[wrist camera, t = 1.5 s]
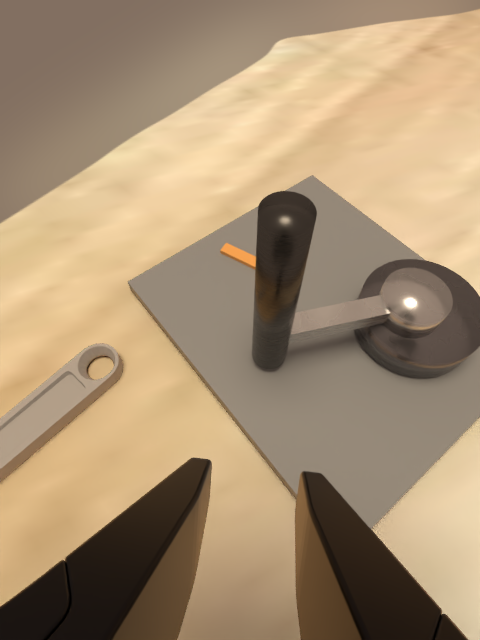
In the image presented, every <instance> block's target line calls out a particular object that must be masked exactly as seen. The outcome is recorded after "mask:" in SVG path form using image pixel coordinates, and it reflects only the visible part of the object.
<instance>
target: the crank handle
mask: <svg viewBox="0 0 480 640" xmlns="http://www.w3.org/2000/svg"><path fill="white" fill-rule="evenodd" d="M316 217H317V210H316V207H315V205H314V203H313V202H312V201H311V200H310V199H309V198H307V197H306V196H304V195H302V194H300V193H296V192H291V191H280V192H276V193H272V194H270V195H268V196H267V197H265V198H264V199H263V200H262V201H261V203H260V204H259V207H258V220H257V243H256V266H255V289H254V312H253V335H252V358H253V360H254V362H255V363H256V364H257V365H258V366H260V367H262V368H265V369H274V368H277V367H279V366H280V365H282V364H283V362H284V361H285V358H286V354H287V350H288V345H289V343H294V342H298V341H303V340H307V339H312V338H317V337H321V336H326V335H331V334H335V333H340V332H344V331H349V330H354V331H355V333H356V336H357V338H358V340H359V342H360V343H361V345H362V346H363V348H364V349H365V350H366V352H367V353H368V354H369V355H370V356H371V357H372V358H374V359H375V360H376V361H377V362H378V363H380V364H381V365H383V366H384V367H386V368H388V369H390V370H392V371H394V372H397V373H399V374H403V375H406V376H411V377H418V378H429V377H436V376H440V375H443V374H446V373H448V372H450V371H452V370H453V369H455V368H456V367H457V366H458V365H460V364H461V363H462V362H463V361H464V360H465V359H466V358H468V357H469V356H470V355H471V354H472V353H473V352H475V351H476V350H477V349H478V347H479V346H480V297H479V295H478V293H477V292H476V291H475V290H474V288H473V287H472V286H471V285H470V284H469V283H468V282H467V281H466V280H465V279H463V278H462V277H461V276H459V275H458V274H456V273H455V272H453V271H452V270H450V269H448V268H446V267H444V266H441V265H439V264H436V263H433V262H429V261H425V260H418V259H401V260H396V261H392V262H389V263H386V264H384V265H382V266H380V267H378V268H377V269H376V270H374V271H373V272H372V273H371V274H370V275H369V276H368V278H367V279H366V281H365V283H364V285H363V287H362V289H361V292H360V294H359V296H358V298H357V300H354V301H349V302H344V303H340V304H335V305H330V306H325V307H320V308H315V309H311V310H306V311H301V312H296V308H297V304H298V299H299V295H300V290H301V286H302V281H303V276H304V272H305V267H306V263H307V258H308V254H309V249H310V245H311V240H312V235H313V231H314V226H315V222H316Z"/></svg>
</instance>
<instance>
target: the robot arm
mask: <svg viewBox="0 0 480 640" xmlns="http://www.w3.org/2000/svg"><path fill="white" fill-rule="evenodd" d="M211 470H212V463H211V461H210V460H209V459H201V458H191V459H189V460H188V461H187V462H186V463H184V464H183V465H182V466H181V467H179V468H178V469H177V470H176V471H174V472H173V473H172V474H170V475H169V476H168V477H167V478H165V479H164V480H163V481H162V482H160V483H159V484H158V485H157V486H155V487H154V488H153V489H151V490H150V491H149V492H148V493H146V494H145V495H144V496H143V497H141V498H140V499H139V500H138V501H136V502H135V503H134V504H132V505H131V506H130V507H129V508H127V509H126V510H125V511H124V512H122V513H121V514H120V515H119V516H117V517H116V518H115V519H113V520H112V521H111V522H110V523H108V524H107V525H106V526H105V527H103V528H102V529H101V530H100V531H98V532H97V533H96V534H94V535H93V536H92V537H91V538H89V539H88V540H87V541H86V542H84V543H83V544H82V545H81V546H79V547H78V548H77V549H75V550H74V551H73V552H72V553H70V554H69V555H68V556H67V557H66V558H65V561H64V560H62V561H60V562H59V563H57V564H56V565H55V566H54V567H52V568H51V569H50V570H49V571H47V572H46V573H45V574H44V575H42V576H41V577H40V578H38V579H37V580H36V581H34V582H33V583H32V584H30V585H29V586H28V587H26V588H25V589H24V590H22V591H21V592H20V593H18V594H17V595H16V596H14V597H13V598H12V599H10V600H9V601H8V602H6V603H5V604H3V605H2V606H0V640H177V638H178V635H179V632H180V628H181V625H182V622H183V618H184V615H185V612H186V609H187V605H188V602H189V599H190V595H191V592H192V588H193V584H194V580H195V576H196V571H197V566H198V560H199V555H200V549H201V544H202V538H203V533H204V528H205V522H206V517H207V511H208V506H209V498H210V485H211ZM295 553H296V599H297V609H298V618H299V627H300V635H301V640H468V639H467V638H466V636H465V635H464V634H463V633H462V632H461V631H460V630H459V628H458V627H457V626H456V625H455V624H454V623H453V622H452V621H451V619H450V618H449V617H448V616H447V615H446V614H442V610H441V608H440V607H439V606H438V605H437V604H436V603H435V601H434V600H433V599H432V598H431V597H430V596H429V595H428V593H427V592H426V591H425V590H424V589H423V588H422V587H421V586H420V584H419V583H418V582H417V581H416V580H415V579H414V578H413V576H412V575H411V574H410V573H409V572H408V571H407V570H406V568H405V567H404V566H403V565H402V564H401V563H400V562H399V561H398V559H397V558H396V557H395V556H394V555H393V554H392V553H391V551H390V550H389V549H388V548H387V547H386V546H385V545H384V543H383V542H382V541H381V540H380V539H379V538H378V537H377V536H376V534H375V533H374V532H373V531H372V530H371V529H370V528H369V526H368V525H367V524H366V523H365V522H364V521H363V520H362V518H361V517H360V516H359V515H358V514H357V513H356V512H355V510H354V509H353V508H352V507H351V506H350V505H349V504H348V503H347V501H346V500H345V499H344V498H343V497H342V496H341V495H340V493H339V492H338V491H337V490H336V489H335V488H334V487H333V485H332V484H331V483H330V482H329V481H328V480H327V479H326V478H325V476H324V475H323V474H321V473H318V472H309V471H303V472H301V474H300V479H299V486H298V494H297V501H296V510H295Z"/></svg>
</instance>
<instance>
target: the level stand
mask: <svg viewBox="0 0 480 640" xmlns="http://www.w3.org/2000/svg"><path fill="white" fill-rule="evenodd" d="M286 191H291V192H296V193H300V194H302V195H304V196H306V197H307V198H309V199H310V200H311V201H312V202H313V203H314V205H315V207H316V210H317V217H316V222H315V226H314V231H313V235H312V240H311V245H310V249H309V254H308V258H307V263H306V267H305V272H304V276H303V281H302V286H301V290H300V295H299V299H298V304H297V308H296V312H301V311H306V310H311V309H315V308H320V307H325V306H330V305H335V304H340V303H344V302H349V301H354V300H357V298H358V296H359V294H360V292H361V289H362V287H363V285H364V283H365V281H366V279H367V278H368V276H369V275H370V274H371V273H372V272H373V271H374V270H376V269H377V268H378V267H380V266H382V265H384V264H386V263H389V262H392V261H396V260H401V259H418V260H424V259H423V258H422V257H420V256H419V255H418V254H416V253H415V252H414V251H412V250H411V249H410V248H408V247H407V246H406V245H404V244H403V243H402V242H400V241H399V240H398V239H396V238H395V237H394V236H392V235H391V234H390V233H388V232H387V231H386V230H384V229H383V228H382V227H380V226H379V225H378V224H376V223H375V222H374V221H372V220H371V219H370V218H368V217H367V216H366V215H364V214H363V213H362V212H361V211H359V210H358V209H357V208H355V207H354V206H353V205H351V204H350V203H349V202H347V201H346V200H345V199H343V198H342V197H341V196H339V195H338V194H337V193H335V192H334V191H333V190H331V189H330V188H329V187H327V186H326V185H325V184H323V183H322V182H321V181H319V180H318V179H317V178H315V177H314V176H313V175H312V176H310V177H308V178H307V179H305V180H303V181H301V182H300V183H298V184H296V185H294V186H293V187H291V188H289V189H287V190H286ZM258 207H259V206H258ZM258 207H256V208H255V209H253V210H251V211H249V212H248V213H246V214H244V215H242V216H241V217H239V218H237V219H235V220H234V221H232V222H230V223H229V224H227V225H225V226H223V227H222V228H220V229H218V230H216V231H215V232H213V233H211V234H209V235H208V236H206V237H204V238H203V239H201V240H199V241H197V242H196V243H194V244H192V245H190V246H189V247H187V248H185V249H183V250H182V251H180V252H178V253H177V254H175V255H173V256H171V257H170V258H168V259H166V260H164V261H163V262H161V263H159V264H157V265H156V266H154V267H152V268H151V269H149V270H147V271H145V272H144V273H142V274H140V275H138V276H137V277H135V278H133V279H132V280H130V281H128V284H129V286H130V289H131V291H132V292H133V293H134V294H135V296H136V297H137V298H138V300H139V301H140V302H141V303H142V305H143V306H144V307H145V308H146V310H147V311H148V312H149V313H150V315H151V316H152V317H153V319H154V320H155V321H156V322H157V324H158V325H159V326H160V327H161V329H162V330H163V331H164V332H165V334H166V335H167V336H168V338H169V339H170V340H171V341H172V343H173V344H174V345H175V346H176V348H177V349H178V350H179V351H180V353H181V354H182V355H183V357H184V358H185V359H186V360H187V362H188V363H189V364H190V365H191V367H192V368H193V369H194V370H195V372H196V373H197V374H198V376H199V377H200V378H201V379H202V381H203V382H204V383H205V384H206V386H207V387H208V388H209V389H210V391H211V392H212V393H213V395H214V396H215V397H216V398H217V400H218V401H219V402H220V403H221V405H222V406H223V407H224V408H225V410H226V411H227V412H228V414H229V415H230V416H231V417H232V419H233V420H234V421H235V422H236V424H237V425H238V426H239V427H240V429H241V430H242V431H243V433H244V434H245V435H246V436H247V438H248V439H249V440H250V441H251V443H252V444H253V445H254V446H255V448H256V449H257V450H258V452H259V453H260V454H261V455H262V457H263V458H264V459H265V460H266V462H267V463H268V464H269V465H270V467H271V468H272V469H273V471H274V472H275V473H276V474H277V476H278V477H279V478H280V479H281V481H282V482H283V483H284V484H285V486H286V487H287V488H288V490H289V491H290V492H291V493H292V495H293V496H294V497H295V498H296V500H297V494H298V486H299V479H300V474H301V472H303V471H309V472H318V473H321V474H323V475H324V476H325V478H326V479H327V480H328V481H329V482H330V483H331V484H332V485H333V487H334V488H335V489H336V490H337V491H338V492H339V493H340V495H341V496H342V497H343V498H344V499H345V500H346V501H347V503H348V504H349V505H350V506H351V507H352V508H353V509H354V510H355V512H356V513H357V514H358V515H359V516H360V517H361V518H362V520H363V521H364V522H365V523H366V524H367V525H368V526H369V528H370V529H371V528H372V527H373V526H374V525H375V524H376V523H377V522H378V521H379V520H380V519H381V518H382V517H383V516H384V515H385V514H386V513H387V512H388V511H389V510H390V509H391V508H392V507H393V506H394V505H395V504H396V503H397V502H398V501H399V499H400V498H401V497H402V496H403V495H404V494H405V493H406V492H407V491H408V490H409V489H410V488H411V487H412V486H413V485H414V484H415V483H416V482H417V481H418V480H419V479H420V478H421V477H422V476H423V475H424V474H425V473H426V472H427V471H428V470H429V469H430V468H431V466H432V465H433V464H434V463H435V462H436V461H437V460H438V459H439V458H440V457H441V456H442V455H443V454H444V453H445V452H446V451H447V450H448V449H449V448H450V447H451V446H452V445H453V444H454V443H455V442H456V441H457V440H458V439H459V438H460V437H461V436H462V434H463V433H464V432H465V431H466V430H467V429H468V428H469V427H470V426H471V425H472V424H473V423H474V422H475V421H476V420H477V419H478V418H479V417H480V346H479V347H478V349H477V350H476V351H475V352H473V353H472V354H471V355H470V356H469V357H468V358H466V359H465V360H464V361H463V362H462V363H461V364H460V365H458V366H457V367H456V368H455V369H453V370H452V371H450V372H448V373H446V374H443V375H440V376H436V377H429V378H418V377H411V376H406V375H403V374H399V373H397V372H394V371H392V370H390V369H388V368H386V367H384V366H383V365H381V364H380V363H378V362H377V361H376V360H375V359H374V358H372V357H371V356H370V355H369V354H368V353H367V352H366V350H365V349H364V348H363V346H362V345H361V343H360V342H359V340H358V338H357V336H356V333H355V331H354V330H349V331H344V332H340V333H335V334H331V335H326V336H321V337H317V338H312V339H307V340H303V341H298V342H294V343H289V345H288V350H287V354H286V358H285V361H284V362H283V364H282V365H280V366H279V367H277V368H274V369H265V368H262V367H260V366H258V365H257V364H256V363H255V362H254V360H253V358H252V335H253V312H254V289H255V266H256V243H257V220H258ZM425 261H426V260H425Z"/></svg>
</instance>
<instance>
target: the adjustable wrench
mask: <svg viewBox="0 0 480 640" xmlns="http://www.w3.org/2000/svg"><path fill="white" fill-rule="evenodd" d="M100 356H108V357H110V358H111V359H112V360H113V363H114V367H113V369H112V371H111V372H110V373H109V374H108V375H106V376H105V377H103V378H101V379H98V380H93V379H91V378H90V377H89V376H88V375H87V371H86V370H87V367H88V365H89V363H90V362H91V361H92V360H94V359H95V358H97V357H100ZM122 372H123V363H122V360H121V358H120V356H119V355H118V353H117V352H116V350H115V349H114V348H113V347H111V346H110V345H107V344H103V343H101V344H94V345H91V346H88V347H87V348H85V349H84V350H82V351H81V352H80V353H79V354H78V355H76V356H75V357H74V358H73V359H71V360H70V361H69V362H68V363H67V364H65V365H64V366H63V367H62V368H61V369H59V370H58V371H57V372H56V373H55V374H53V375H52V376H51V377H50V378H49V379H47V380H46V381H45V382H44V383H43V384H41V385H40V386H39V387H38V388H36V389H35V390H34V391H33V392H32V393H30V394H29V395H28V396H27V397H26V398H24V399H23V400H22V401H21V402H20V403H18V404H17V405H16V406H15V407H14V408H12V409H11V410H10V411H9V412H8V413H6V414H5V415H4V416H3V417H2V418H0V482H1V481H2V480H4V479H5V478H6V477H7V476H8V475H9V474H11V473H12V472H13V471H14V470H15V469H16V468H18V467H19V466H20V465H21V464H22V463H23V462H24V461H26V460H27V459H28V458H29V457H30V456H31V455H33V454H34V453H35V452H36V451H37V450H38V449H40V448H41V447H42V446H43V445H44V444H45V443H47V442H48V441H49V440H50V439H51V438H52V437H53V436H55V435H56V434H57V433H58V432H59V431H60V430H62V429H63V428H64V427H65V426H66V425H67V424H69V423H70V422H71V421H72V420H73V419H74V418H75V417H77V416H78V415H79V414H80V413H81V412H82V411H84V410H85V409H86V408H87V407H88V406H89V405H91V404H92V403H93V402H94V401H95V400H96V399H97V398H99V397H100V396H101V395H102V394H103V393H104V392H106V391H107V390H108V389H109V388H110V387H111V386H113V385H114V384H115V383H116V382H117V381H118V379H119V378H120V376H121V374H122Z"/></svg>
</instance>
